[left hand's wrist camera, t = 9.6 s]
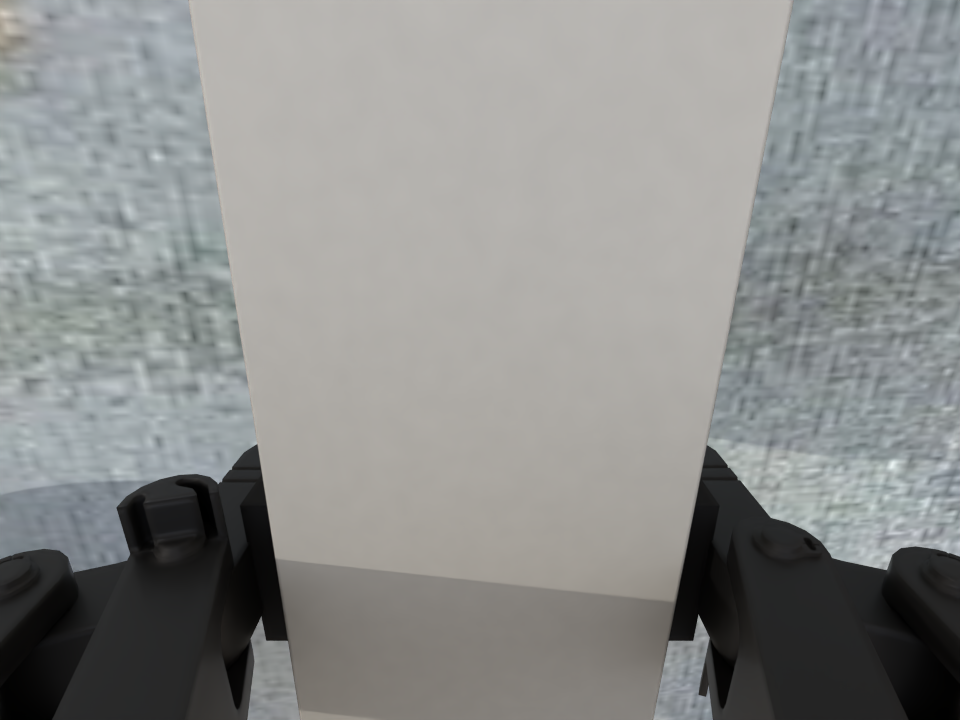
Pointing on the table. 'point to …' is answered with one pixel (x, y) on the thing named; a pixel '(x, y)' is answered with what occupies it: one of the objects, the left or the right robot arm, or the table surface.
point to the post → (484, 328)
